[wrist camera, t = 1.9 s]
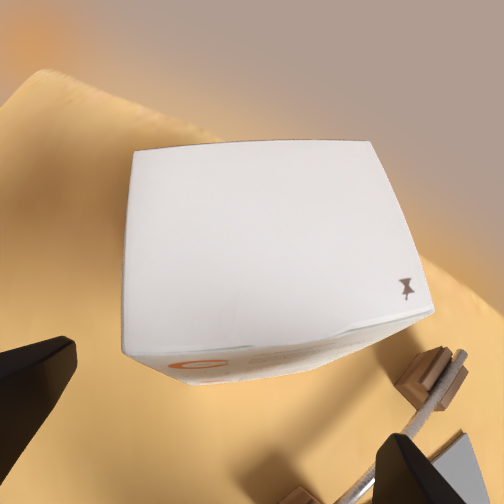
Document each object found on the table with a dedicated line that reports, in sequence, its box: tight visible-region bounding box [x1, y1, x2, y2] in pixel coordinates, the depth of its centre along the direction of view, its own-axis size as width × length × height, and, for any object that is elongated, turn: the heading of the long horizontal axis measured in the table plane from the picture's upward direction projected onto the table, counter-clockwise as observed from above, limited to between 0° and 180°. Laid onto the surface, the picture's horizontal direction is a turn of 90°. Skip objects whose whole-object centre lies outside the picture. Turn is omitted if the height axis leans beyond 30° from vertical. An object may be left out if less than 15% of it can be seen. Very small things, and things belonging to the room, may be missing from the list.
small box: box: [121, 139, 435, 386], centre depth 14 cm, size 8×6×13 cm
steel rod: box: [333, 349, 468, 504], centre depth 14 cm, size 16×1×1 cm, turn 132°
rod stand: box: [278, 346, 468, 504], centre depth 15 cm, size 15×3×3 cm, turn 132°
